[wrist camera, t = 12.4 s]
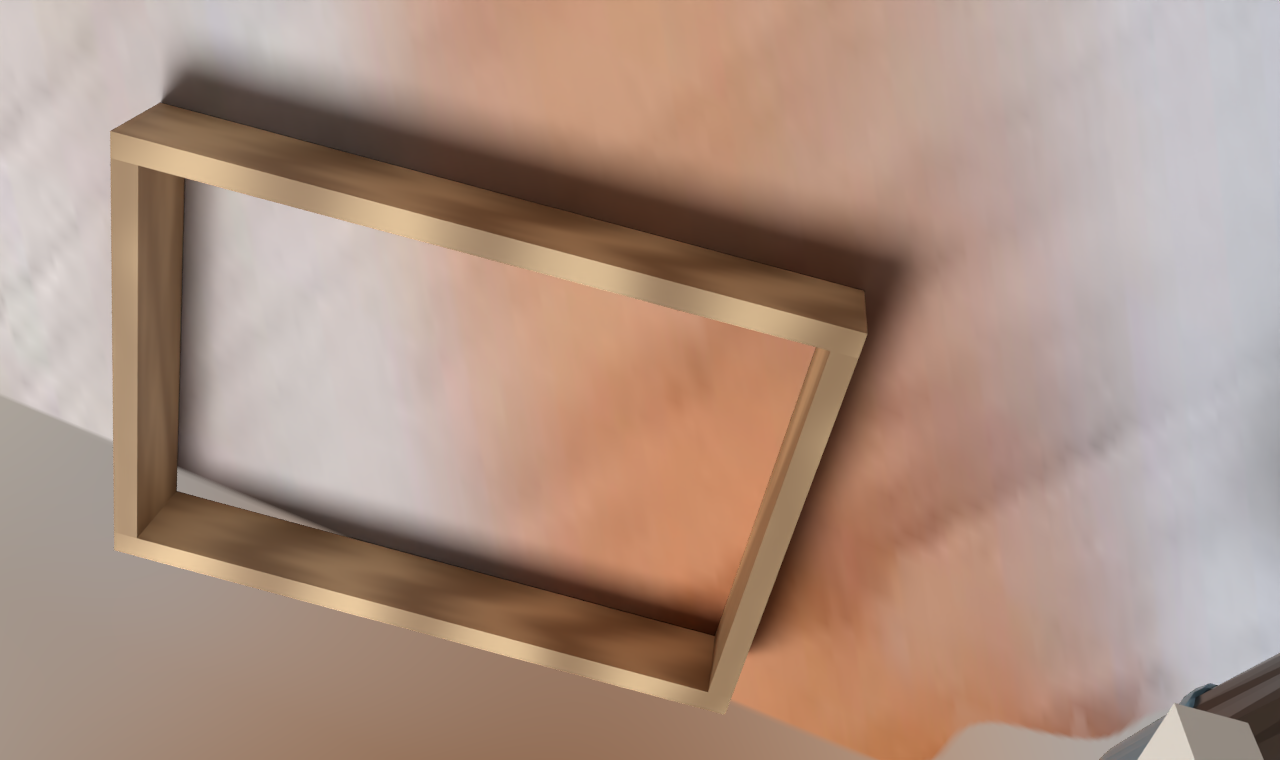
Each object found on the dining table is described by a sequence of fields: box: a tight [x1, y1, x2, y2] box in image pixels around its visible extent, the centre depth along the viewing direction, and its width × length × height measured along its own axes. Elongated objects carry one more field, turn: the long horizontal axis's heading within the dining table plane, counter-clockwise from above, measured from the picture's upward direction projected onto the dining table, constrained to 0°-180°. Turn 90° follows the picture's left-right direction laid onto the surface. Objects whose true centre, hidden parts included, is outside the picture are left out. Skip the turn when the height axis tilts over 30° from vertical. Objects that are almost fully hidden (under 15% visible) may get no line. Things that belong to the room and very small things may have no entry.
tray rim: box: [110, 103, 868, 715], centre depth 46 cm, size 27×19×4 cm
